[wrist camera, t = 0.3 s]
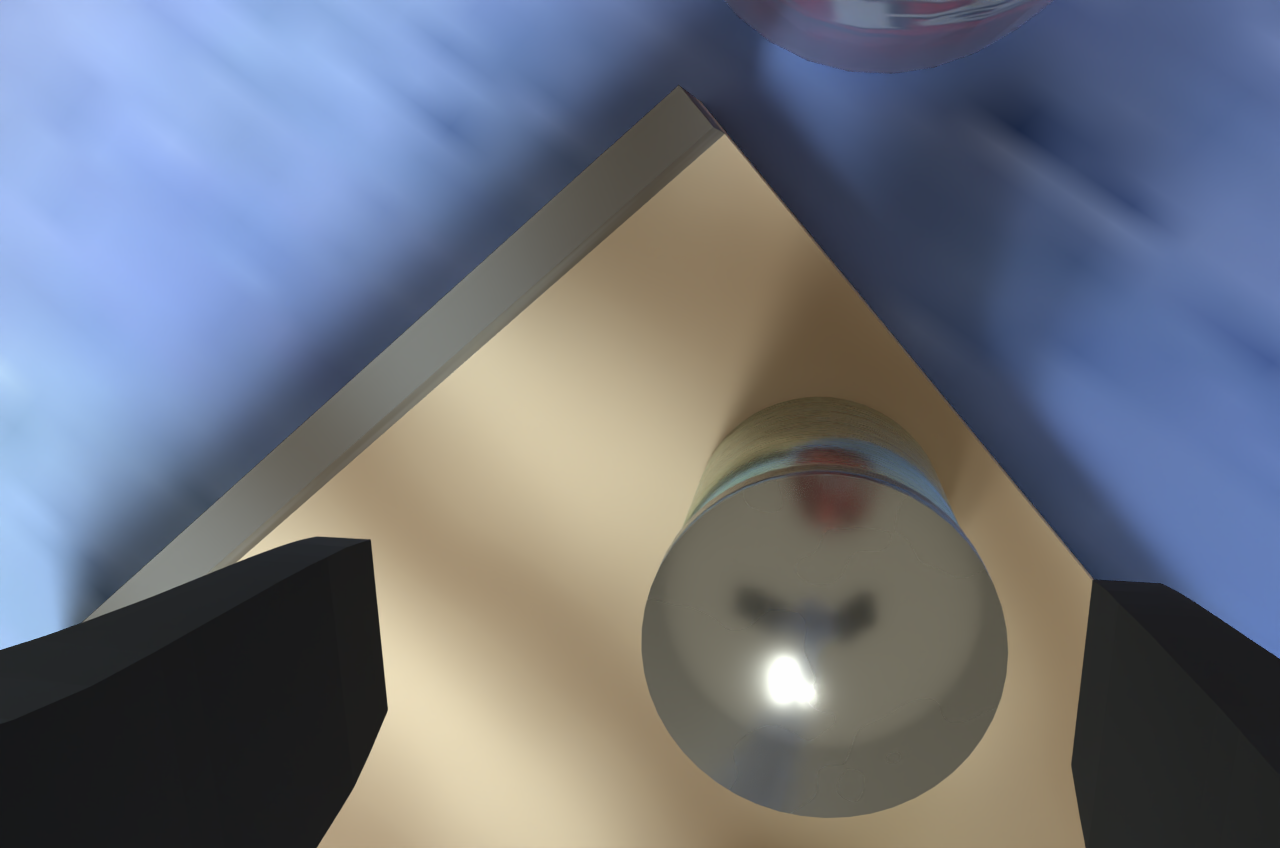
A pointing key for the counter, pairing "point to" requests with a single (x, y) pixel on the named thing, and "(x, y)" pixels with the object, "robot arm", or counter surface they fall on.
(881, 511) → the spice tin
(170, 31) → the counter surface
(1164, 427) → the counter surface
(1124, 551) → the counter surface
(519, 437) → the shelf board
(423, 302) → the counter surface
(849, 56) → the soda can
